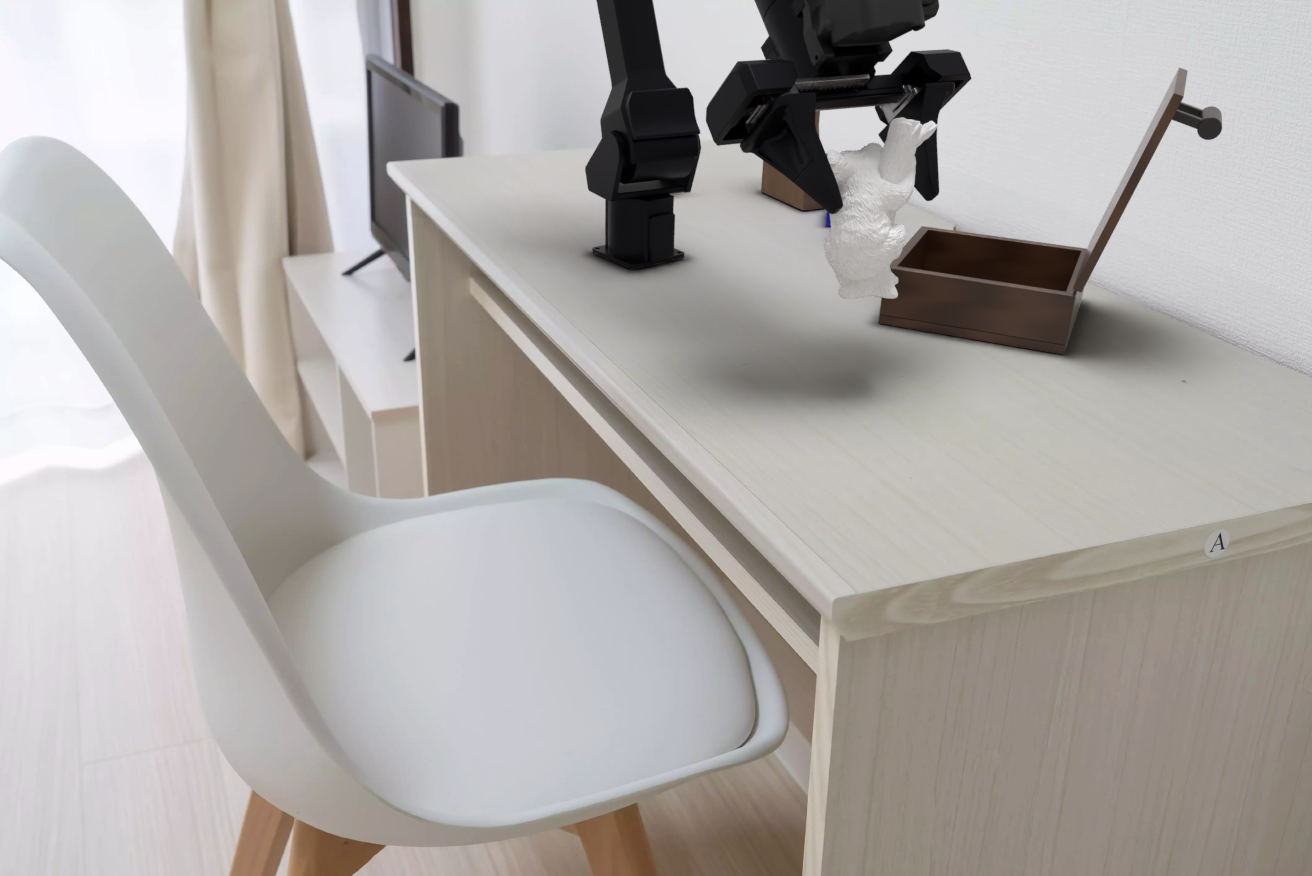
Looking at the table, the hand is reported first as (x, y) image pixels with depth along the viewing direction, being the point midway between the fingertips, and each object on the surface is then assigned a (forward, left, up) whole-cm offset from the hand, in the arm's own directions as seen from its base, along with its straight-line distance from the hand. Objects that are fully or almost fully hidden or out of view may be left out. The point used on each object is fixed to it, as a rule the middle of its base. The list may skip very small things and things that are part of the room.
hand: (886, 204), depth 74 cm
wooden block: (-39, +34, -13) cm, 54 cm away
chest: (-4, +20, -13) cm, 24 cm away
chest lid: (+4, +24, -1) cm, 24 cm away
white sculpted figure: (-1, 0, -7) cm, 7 cm away
